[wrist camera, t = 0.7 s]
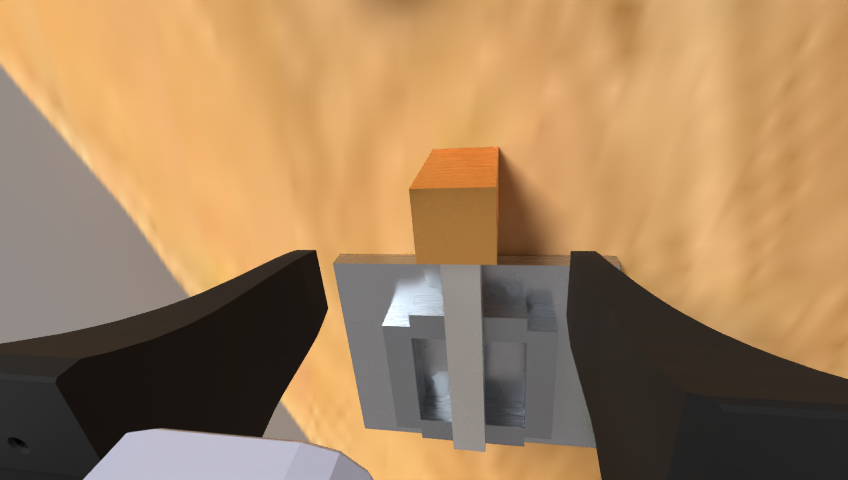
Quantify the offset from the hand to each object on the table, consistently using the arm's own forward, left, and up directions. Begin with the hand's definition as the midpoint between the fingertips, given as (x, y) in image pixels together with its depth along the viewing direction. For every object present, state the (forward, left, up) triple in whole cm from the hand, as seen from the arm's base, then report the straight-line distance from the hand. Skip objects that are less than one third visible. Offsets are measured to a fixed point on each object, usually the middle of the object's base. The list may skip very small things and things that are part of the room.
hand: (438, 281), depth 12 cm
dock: (0, +10, -9) cm, 14 cm away
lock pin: (0, +6, -9) cm, 11 cm away
